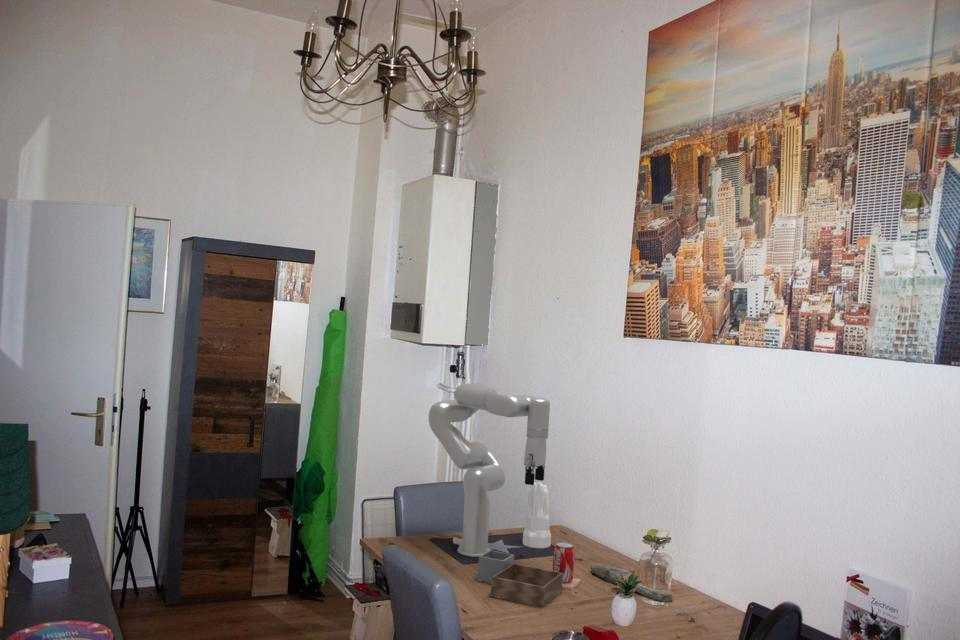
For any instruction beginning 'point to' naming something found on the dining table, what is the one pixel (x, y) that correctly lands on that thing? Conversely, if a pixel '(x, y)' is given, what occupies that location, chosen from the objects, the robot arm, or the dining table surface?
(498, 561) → the charcoal crate
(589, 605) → the dining table surface
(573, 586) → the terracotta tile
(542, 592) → the walnut crate
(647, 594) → the long grey stone
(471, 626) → the dining table surface
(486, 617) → the dining table surface
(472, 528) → the robot arm
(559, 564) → the soda can
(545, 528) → the decorative vase
